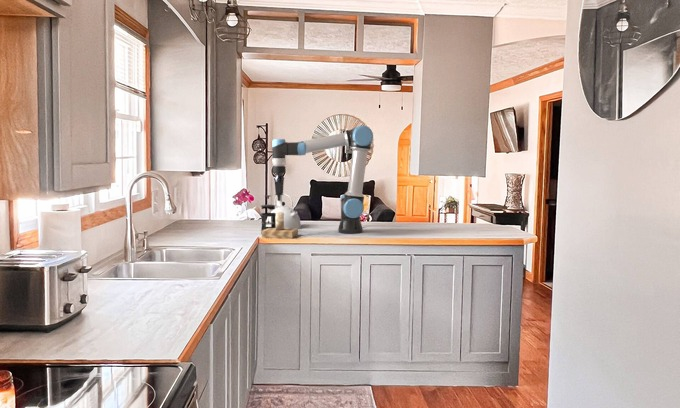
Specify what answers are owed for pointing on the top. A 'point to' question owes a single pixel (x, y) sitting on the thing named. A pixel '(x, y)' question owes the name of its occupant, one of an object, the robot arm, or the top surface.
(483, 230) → the top surface
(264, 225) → the french press
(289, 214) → the kettle
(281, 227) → the peg
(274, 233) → the board
